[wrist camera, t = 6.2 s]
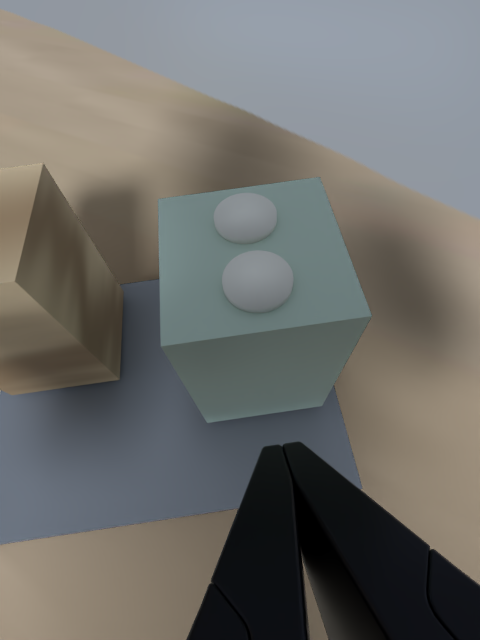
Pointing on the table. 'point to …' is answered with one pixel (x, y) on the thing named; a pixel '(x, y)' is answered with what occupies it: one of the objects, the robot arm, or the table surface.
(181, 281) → the two-stud toy brick
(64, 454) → the key base
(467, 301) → the table surface
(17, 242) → the wooden button block
